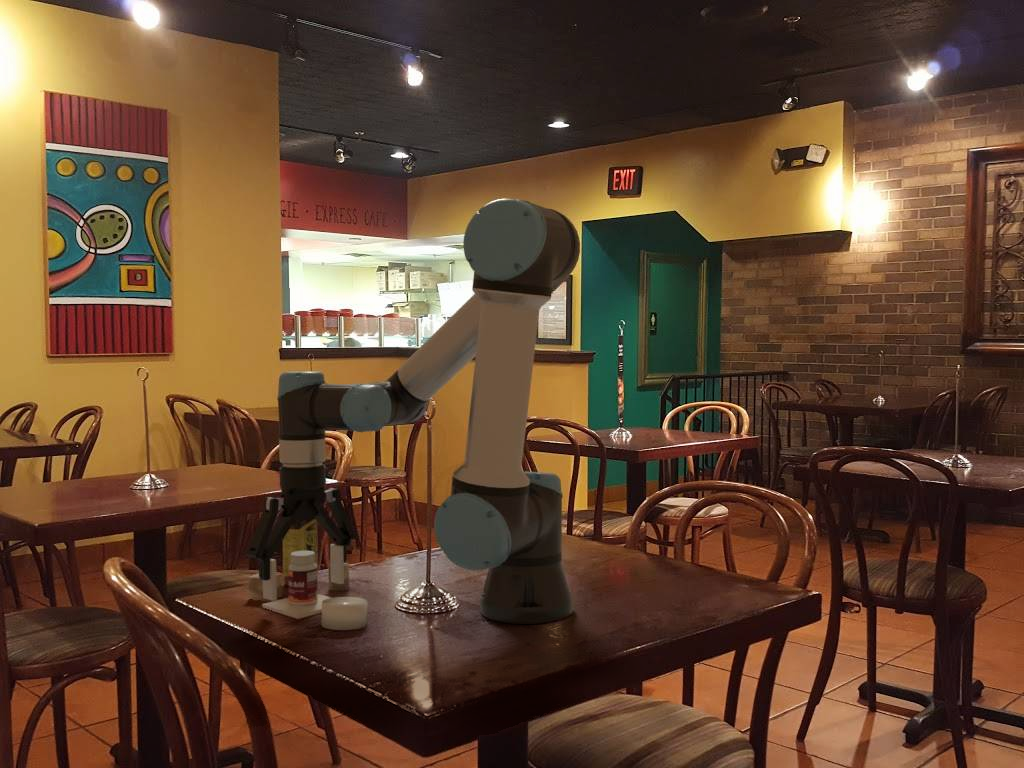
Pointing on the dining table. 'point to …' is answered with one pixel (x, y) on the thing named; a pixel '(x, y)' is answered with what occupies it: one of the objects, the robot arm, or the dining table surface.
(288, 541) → the sauce bottle
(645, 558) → the dining table surface
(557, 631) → the dining table surface
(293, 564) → the pill bottle
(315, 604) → the tile
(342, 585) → the cork
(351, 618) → the white squat cylinder
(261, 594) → the beech block
